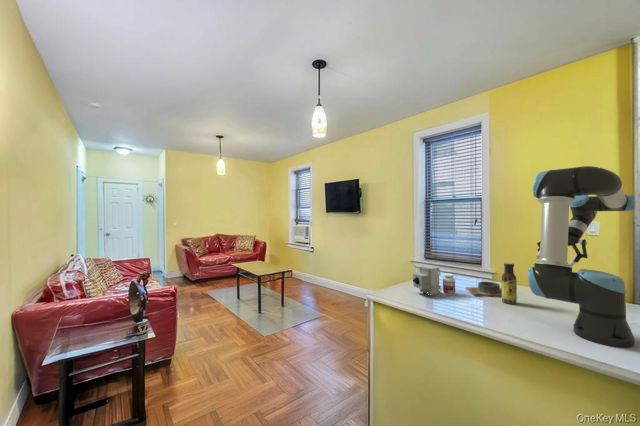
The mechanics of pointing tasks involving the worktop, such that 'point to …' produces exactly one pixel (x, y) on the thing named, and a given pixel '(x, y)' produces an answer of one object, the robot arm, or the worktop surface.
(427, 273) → the circuit breaker
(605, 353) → the worktop surface
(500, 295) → the bottle holder
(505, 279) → the sauce bottle
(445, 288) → the pill bottle
